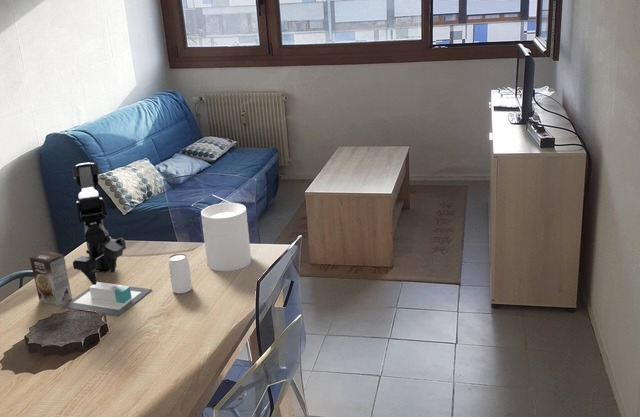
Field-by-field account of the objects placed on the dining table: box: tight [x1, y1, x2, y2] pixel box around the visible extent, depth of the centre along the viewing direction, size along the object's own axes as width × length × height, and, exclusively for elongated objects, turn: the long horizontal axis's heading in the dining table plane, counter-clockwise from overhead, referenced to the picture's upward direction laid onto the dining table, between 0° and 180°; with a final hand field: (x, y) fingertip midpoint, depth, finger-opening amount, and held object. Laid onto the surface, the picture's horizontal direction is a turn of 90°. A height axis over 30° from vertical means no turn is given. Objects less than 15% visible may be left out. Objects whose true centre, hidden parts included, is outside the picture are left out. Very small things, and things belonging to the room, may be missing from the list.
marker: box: [88, 281, 132, 303], centre depth 208 cm, size 13×4×4 cm, turn 69°
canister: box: [200, 202, 252, 272], centre depth 229 cm, size 16×16×20 cm
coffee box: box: [29, 250, 73, 307], centre depth 208 cm, size 9×6×16 cm
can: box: [168, 253, 193, 295], centre depth 211 cm, size 6×6×12 cm
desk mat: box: [61, 285, 153, 317], centre depth 209 cm, size 22×18×1 cm
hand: (104, 278), depth 207 cm, fingers open, 9 cm apart
